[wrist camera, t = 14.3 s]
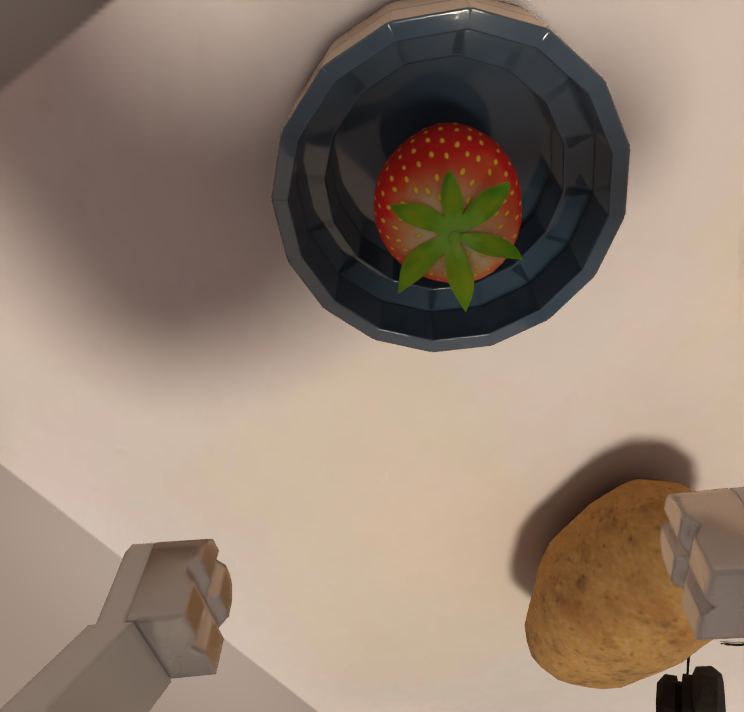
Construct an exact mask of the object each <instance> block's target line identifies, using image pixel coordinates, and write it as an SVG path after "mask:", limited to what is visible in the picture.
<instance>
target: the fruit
mask: <svg viewBox="0 0 744 712" xmlns="http://www.w3.org/2000/svg"><path fill="white" fill-rule="evenodd" d="M373 205H374V214H375V223H376V226H377V229H378V231H379V234H380V237H381V239H382V241H383V242H384V244H385V246H386V247H387V249H388V251H389V252H390V253H391V254H392V255H393V257H394V258H395V259H396V260H397V261H398V262H399V263H401V264H402V267H401V270H400V277H399V287H398V294H399V293H401V292H402V291H404V290H405V289H406V288H408V287H409V286H411V285H412V284H413V283H415V282H416V281H418V280H419V279H420V278H421V277H422V276H423V277H426V278H428V279H431V280H436V281H441V282H448V283H449V285H450V287H451V289H452V291H453V293H454V295H455V296H456V298H457V300H458V301H459V303H460V304H461V306H462V308H463V309H464V311H465V312H466V311H467V308H468V306H469V303H470V301H471V298H472V295H473V290H474V281H475V280H478V279H481V278H483V277H485V276H487V275H488V274H490V273H492V272H493V271H494V270H495V269H497V268H498V267H499V266H500V265H501V264H502V263H503V262H504V260H505V259H506V258H510V259H519V260H523V259H522V257H521V255H520V253H519V251H518V249H517V248H516V247H515V246H514V244H515V241H516V239H517V237H518V234H519V229H520V225H521V216H522V199H521V188H520V184H519V181H518V177H517V173H516V170H515V168H514V166H513V164H512V162H511V160H510V158H509V157H508V155H507V154H506V153H505V152H504V151H503V149H502V148H501V147H500V146H499V144H498V143H497V142H496V141H494V140H493V139H492V138H490V137H489V136H488V135H486V134H485V133H483V132H481V131H479V130H477V129H475V128H473V127H471V126H467V125H463V124H460V123H456V122H449V123H438V124H435V125H432V126H429V127H427V128H424V129H422V130H421V131H419V132H417V133H416V134H414V135H412V136H411V137H409V138H408V139H407V140H406V141H405V142H403V143H402V144H401V145H400V146H399V147H398V148H397V149H396V150H395V151H394V152H393V153H392V154H391V156H390V157H389V158H388V160H387V161H386V163H385V165H384V166H383V168H382V170H381V171H380V174H379V177H378V179H377V182H376V185H375V191H374V202H373Z"/></svg>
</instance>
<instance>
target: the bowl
mask: <svg viewBox="0 0 744 712" xmlns="http://www.w3.org/2000/svg"><path fill="white" fill-rule="evenodd" d="M449 122H456V123H460V124H463V125H467V126H471V127H473V128H475V129H477V130H479V131H481V132H483V133H485V134H486V135H488V136H489V137H490V138H492V139H493V140H494V141H496V142H497V143H498V144H499V146H500V147H501V148H502V149H503V151H504V152H505V153H506V154H507V155H508V157H509V158H510V160H511V162H512V164H513V166H514V168H515V170H516V173H517V177H518V181H519V184H520V188H521V199H522V216H521V225H520V229H519V234H518V237H517V239H516V241H515V244H514V246H515V247H516V248H517V249H518V251H519V253H520V255H521V257H522V259H523V260H519V259H510V258H506V259H505V260H504V262H503V263H502V264H501V265H500V266H499V267H498V268H497V269H495V270H494V271H493V272H492V273H490V274H488V275H487V276H485V277H483V278H481V279H478V280H475V281H474V290H473V295H472V298H471V301H470V303H469V306H468V308H467V311H466V312H465V311H464V309H463V308H462V306H461V304H460V303H459V301H458V300H457V298H456V296H455V295H454V293H453V291H452V289H451V287H450V285H449V283H448V282H441V281H436V280H431V279H428V278H426V277H423V276H422V277H421V278H420V279H419V280H418V281H416V282H415V283H413V284H412V285H411V286H409V287H408V288H406V289H405V290H404V291H402V292H401V293H399V294H398V287H399V277H400V270H401V267H402V264H401V263H399V262H398V261H397V260H396V259H395V258H394V257H393V255H392V254H391V253H390V252H389V251H388V249H387V247H386V246H385V244H384V242H383V241H382V239H381V237H380V234H379V231H378V229H377V226H376V223H375V214H374V205H373V202H374V191H375V185H376V182H377V179H378V177H379V174H380V171H381V170H382V168H383V166H384V165H385V163H386V161H387V160H388V158H389V157H390V156H391V154H392V153H393V152H394V151H395V150H396V149H397V148H398V147H399V146H400V145H401V144H402V143H403V142H405V141H406V140H407V139H408V138H409V137H411V136H412V135H414V134H416V133H417V132H419V131H421V130H422V129H424V128H427V127H429V126H432V125H435V124H438V123H449ZM629 158H630V144H629V142H628V139H627V137H626V134H625V131H624V129H623V126H622V123H621V121H620V118H619V116H618V113H617V110H616V108H615V105H614V102H613V100H612V97H611V94H610V92H609V89H608V87H607V84H606V82H605V81H604V79H603V77H601V76H600V75H599V74H598V73H597V72H596V71H595V70H594V69H593V68H592V67H591V66H589V65H588V64H587V63H586V62H585V61H584V60H583V59H582V58H581V57H580V56H578V55H577V54H576V53H575V52H574V51H573V50H572V49H571V48H570V47H569V46H568V45H566V44H565V43H564V42H563V41H562V40H561V39H560V38H559V37H558V36H557V35H555V34H554V33H553V32H552V31H551V30H550V29H549V28H548V27H546V26H545V25H544V24H543V23H541V22H540V21H539V20H538V19H537V18H535V17H534V16H533V15H532V14H531V13H529V12H528V11H527V10H525V9H523V8H520V7H517V6H513V5H510V4H506V3H503V2H499V1H495V0H402V1H396V2H392V3H391V4H387V5H386V6H384V7H383V8H382V9H380V10H379V11H377V12H376V13H374V14H373V15H371V16H370V17H368V18H367V19H366V20H364V21H363V22H361V23H360V24H358V25H357V26H355V27H354V28H352V29H351V30H350V31H348V32H347V33H345V34H344V35H342V36H341V37H339V38H338V39H336V40H335V41H334V43H332V44H331V46H330V48H329V49H328V51H327V52H326V54H325V56H324V57H323V59H322V60H321V62H320V64H319V65H318V67H317V68H316V70H315V72H314V73H313V75H312V76H311V78H310V80H309V81H308V83H307V84H306V86H305V88H304V89H303V91H302V92H301V94H300V95H299V97H298V99H297V101H296V103H295V105H294V107H293V109H292V111H291V113H290V115H289V117H288V119H287V121H286V123H285V125H284V127H283V129H282V132H281V137H280V144H279V150H278V157H277V164H276V170H275V177H274V183H273V190H272V197H271V198H272V203H273V207H274V211H275V215H276V219H277V222H278V226H279V230H280V234H281V238H282V242H283V245H284V249H285V253H286V257H287V259H288V262H289V263H290V265H291V266H292V267H293V269H294V270H295V271H296V273H297V274H298V275H299V276H300V278H301V279H302V280H303V282H304V283H305V284H306V286H307V287H308V288H309V290H310V291H311V292H312V294H313V295H314V296H315V298H316V299H317V300H318V302H319V303H320V304H321V306H322V307H323V308H325V309H326V310H327V311H329V312H330V313H332V314H334V315H335V316H337V317H338V318H340V319H342V320H343V321H345V322H346V323H348V324H350V325H351V326H353V327H355V328H356V329H358V330H359V331H361V332H363V333H364V334H366V335H367V336H369V337H371V338H372V339H375V340H378V341H382V342H387V343H392V344H396V345H401V346H406V347H410V348H415V349H420V350H424V351H429V352H431V351H432V352H439V351H448V350H457V349H466V348H475V347H484V346H491V345H494V344H496V343H498V342H501V341H503V340H505V339H507V338H509V337H511V336H514V335H516V334H518V333H520V332H522V331H525V330H527V329H529V328H531V327H533V326H536V325H538V324H540V323H542V322H544V321H547V320H548V319H550V318H551V317H552V316H553V315H554V314H555V313H556V312H557V311H558V310H559V309H560V308H561V307H562V306H563V305H565V304H566V303H567V302H568V301H569V300H570V299H571V298H572V297H573V296H574V295H575V294H576V293H577V292H578V291H579V290H581V289H582V288H583V287H584V286H585V285H586V284H587V283H588V282H589V281H590V280H591V279H592V278H593V277H594V276H595V274H596V273H597V271H598V269H599V267H600V265H601V263H602V261H603V259H604V257H605V255H606V253H607V251H608V249H609V247H610V245H611V243H612V241H613V239H614V237H615V235H616V233H617V231H618V229H619V227H620V225H621V223H622V221H623V219H624V215H625V212H626V199H627V185H628V172H629Z"/></svg>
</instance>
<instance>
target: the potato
mask: <svg viewBox="0 0 744 712" xmlns="http://www.w3.org/2000/svg"><path fill="white" fill-rule="evenodd" d="M685 492H694V491H693V490H691V489H689V488H687V487H685V486H684V485H682V484H680V483H678V482H668V481H658V480H647V479H634V480H631V481H629V482H626V483H623V484H622V485H620V486H618V487H616V488H615V489H613V490H611V491H610V492H608V493H606V494H605V495H603V496H602V497H600V498H599V499H597V500H595V501H594V502H592V503H591V504H589V505H588V506H587V507H586V508H585V509H584V510H583V511H582V512H581V513H580V514H579V515H578V516H576V517H575V518H574V519H573V520H572V521H571V522H570V523H569V524H568V525H567V526H566V527H565V528H564V529H563V530H562V531H561V532H560V533H559V534H558V535H557V536H556V537H555V538H554V539H553V540H552V541H551V542H550V543H549V545H548V547H547V549H546V551H545V553H544V555H543V557H542V559H541V561H540V563H539V568H538V572H537V577H536V582H535V586H534V590H533V593H532V597H531V601H530V604H529V609H528V613H527V617H526V621H525V631H526V638H527V643H528V646H529V649H530V652H531V656H532V657H533V658H534V659H535V661H536V662H537V663H538V664H539V665H540V667H541V668H543V669H544V670H546V671H547V672H548V673H550V674H551V675H552V676H554V677H555V678H557V679H558V680H561V681H564V682H566V683H569V684H574V685H579V686H584V687H590V688H599V689H609V688H621V687H623V686H626V685H628V684H631V683H633V682H636V681H638V680H641V679H643V678H646V677H649V676H651V675H654V674H657V673H659V672H662V671H664V670H666V669H668V668H671V667H673V666H675V665H677V664H679V663H682V662H683V661H684V660H686V659H687V658H688V657H690V656H691V655H692V654H693V653H695V652H696V651H697V650H699V649H700V648H701V647H702V646H704V645H705V644H707V643H708V642H710V641H711V640H713V639H706V640H697V639H696V637H695V635H694V632H693V630H692V628H691V626H690V623H689V621H688V619H687V616H686V614H685V612H684V609H683V607H682V605H681V601H682V595H683V589H682V588H681V587H679V586H678V585H677V584H675V583H674V582H673V581H671V579H670V576H669V574H668V572H667V569H666V566H665V563H664V560H663V556H662V550H661V542H660V536H661V526H662V525H663V524H664V523H666V522H667V521H668V520H669V519H668V517H667V514H666V512H665V510H664V506H665V500H666V498H667V497H668V495H669V494H676V493H685Z"/></svg>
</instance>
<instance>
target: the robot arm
mask: <svg viewBox="0 0 744 712" xmlns="http://www.w3.org/2000/svg"><path fill="white" fill-rule="evenodd" d="M664 510H665V512H666V514H667V517H668V519H669V520H668V521H667V522H666V523H664V524H663V525H662V526H661V536H660V542H661V550H662V556H663V560H664V563H665V566H666V569H667V572H668V574H669V576H670V579H671V581H673V582H674V583H675V584H677V585H678V586H679V587H681V588H682V589H683V595H682V601H681V605H682V607H683V609H684V612H685V614H686V616H687V619H688V621H689V623H690V626H691V628H692V630H693V632H694V635H695V637H696V639H697V640H706V639H728V638H744V487H738V488H730V489H728V488H722V489H713V490H704V491H694V492H685V493H676V494H669V495H668V497H667V498H666V500H665V506H664ZM218 552H219V550H218V548H217V546H216V544H215V542H214V540H213V539H200V540H185V541H170V542H157V543H145V544H133V545H132V546H131V547H130V548H129V549H128V550H127V551H126V552H125V555H124V557H123V560H122V562H121V564H120V567H119V569H118V572H117V575H116V577H115V579H114V582H113V584H112V587H111V589H110V592H109V594H108V596H107V599H106V601H105V604H104V606H103V609H102V611H101V614H100V616H99V619H98V621H97V623H96V625H88V626H87V627H86V628H85V629H84V630H83V631H82V632H81V633H80V634H79V635H78V636H77V637H76V638H75V639H74V640H73V641H71V642H70V644H68V645H67V646H66V647H65V648H64V649H63V650H62V651H61V652H60V653H59V654H58V655H57V656H56V657H55V658H54V659H53V660H52V661H51V662H50V663H49V664H47V665H46V666H45V667H44V668H43V669H42V670H41V671H40V672H39V673H38V674H37V675H36V676H35V677H34V678H33V679H32V680H31V681H30V682H28V683H27V684H26V685H25V686H24V687H23V688H22V689H21V690H20V691H19V692H18V693H17V694H16V695H15V696H14V697H13V698H12V699H11V700H10V701H9V702H7V703H6V704H5V705H4V706H3V707H2V708H1V709H0V712H149V711H150V709H151V708H152V707H153V705H154V704H155V703H156V701H157V700H158V699H159V697H160V696H161V695H162V693H163V692H164V691H165V689H166V688H167V687H168V685H169V684H170V683H171V678H181V677H190V676H200V675H211V674H216V671H217V667H218V663H219V658H220V654H221V649H222V645H223V640H224V638H223V636H222V634H221V632H220V630H219V627H220V626H221V624H222V623H223V622H224V621H225V620H226V619H227V618H228V617H229V613H230V608H231V603H232V582H231V578H230V573H229V571H228V569H227V567H226V565H225V564H223V563H221V562H220V561H218V560H217V556H218Z"/></svg>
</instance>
